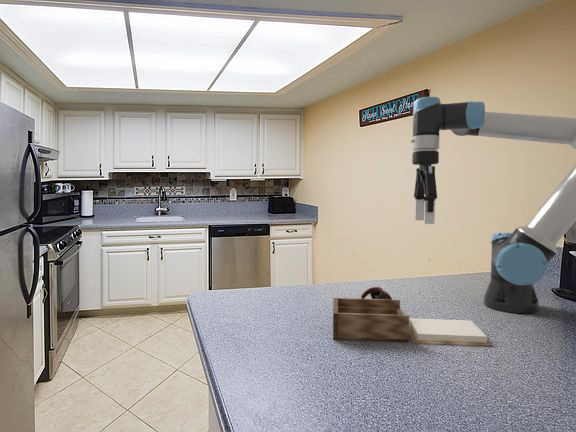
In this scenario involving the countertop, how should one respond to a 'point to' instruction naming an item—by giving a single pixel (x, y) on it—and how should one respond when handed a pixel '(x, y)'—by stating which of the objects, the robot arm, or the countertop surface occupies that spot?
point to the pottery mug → (376, 293)
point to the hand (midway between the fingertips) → (424, 222)
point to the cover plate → (446, 330)
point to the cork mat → (445, 341)
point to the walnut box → (369, 320)
